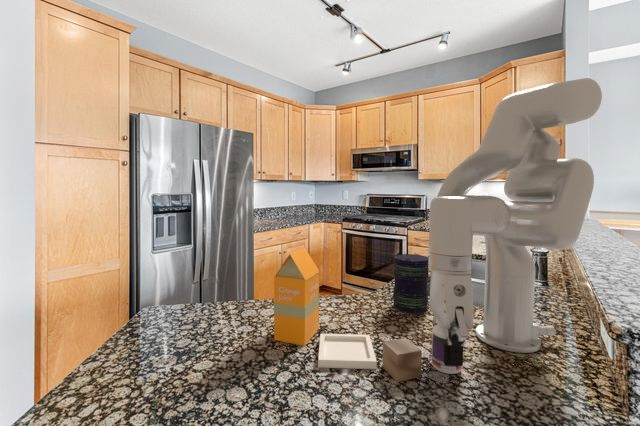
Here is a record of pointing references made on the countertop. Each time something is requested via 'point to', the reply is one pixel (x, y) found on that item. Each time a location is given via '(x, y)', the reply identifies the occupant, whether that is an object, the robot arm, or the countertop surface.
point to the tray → (346, 351)
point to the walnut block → (402, 359)
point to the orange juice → (296, 299)
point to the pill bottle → (441, 349)
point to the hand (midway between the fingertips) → (446, 355)
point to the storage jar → (410, 283)
